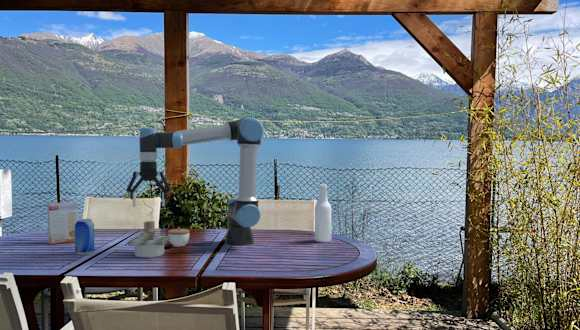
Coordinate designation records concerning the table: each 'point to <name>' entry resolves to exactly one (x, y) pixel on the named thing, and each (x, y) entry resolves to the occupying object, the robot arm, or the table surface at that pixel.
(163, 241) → the lid
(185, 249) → the table surface
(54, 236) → the cracker box
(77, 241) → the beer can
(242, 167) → the robot arm
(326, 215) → the alcohol
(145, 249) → the bowl
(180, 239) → the lidded jar
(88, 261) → the table surface
